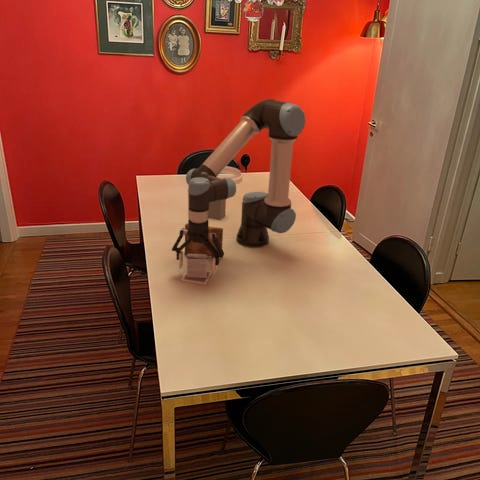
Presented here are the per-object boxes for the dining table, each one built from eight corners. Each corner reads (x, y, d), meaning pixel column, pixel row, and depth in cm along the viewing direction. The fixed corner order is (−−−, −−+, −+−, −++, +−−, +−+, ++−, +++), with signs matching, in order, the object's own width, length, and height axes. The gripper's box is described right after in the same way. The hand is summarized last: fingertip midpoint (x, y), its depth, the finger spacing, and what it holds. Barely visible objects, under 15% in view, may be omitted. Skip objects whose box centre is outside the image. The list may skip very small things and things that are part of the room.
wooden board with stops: (222, 254, 204) (223, 227, 198) (219, 259, 199) (221, 231, 194) (187, 249, 206) (187, 222, 201) (183, 254, 202) (183, 226, 196)
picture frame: (212, 273, 188) (212, 271, 188) (205, 285, 179) (206, 283, 179) (188, 269, 190) (188, 268, 189) (180, 281, 181) (180, 279, 180)
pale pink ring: (195, 183, 292) (195, 174, 290) (205, 171, 316) (205, 163, 314) (237, 188, 288) (238, 179, 286) (244, 175, 313) (245, 167, 310)
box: (207, 273, 186) (207, 253, 183) (206, 278, 182) (207, 259, 179) (187, 272, 186) (187, 253, 182) (186, 277, 182) (186, 258, 178)
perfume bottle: (207, 217, 241) (208, 184, 234) (213, 213, 247) (214, 180, 239) (219, 220, 239) (221, 186, 231) (225, 215, 245) (226, 182, 237)
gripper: (233, 219, 175) (230, 269, 184) (169, 211, 179) (170, 260, 188) (228, 227, 169) (226, 278, 178) (162, 218, 173) (163, 269, 182)
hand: (197, 269), depth 183 cm, fingers open, 13 cm apart
